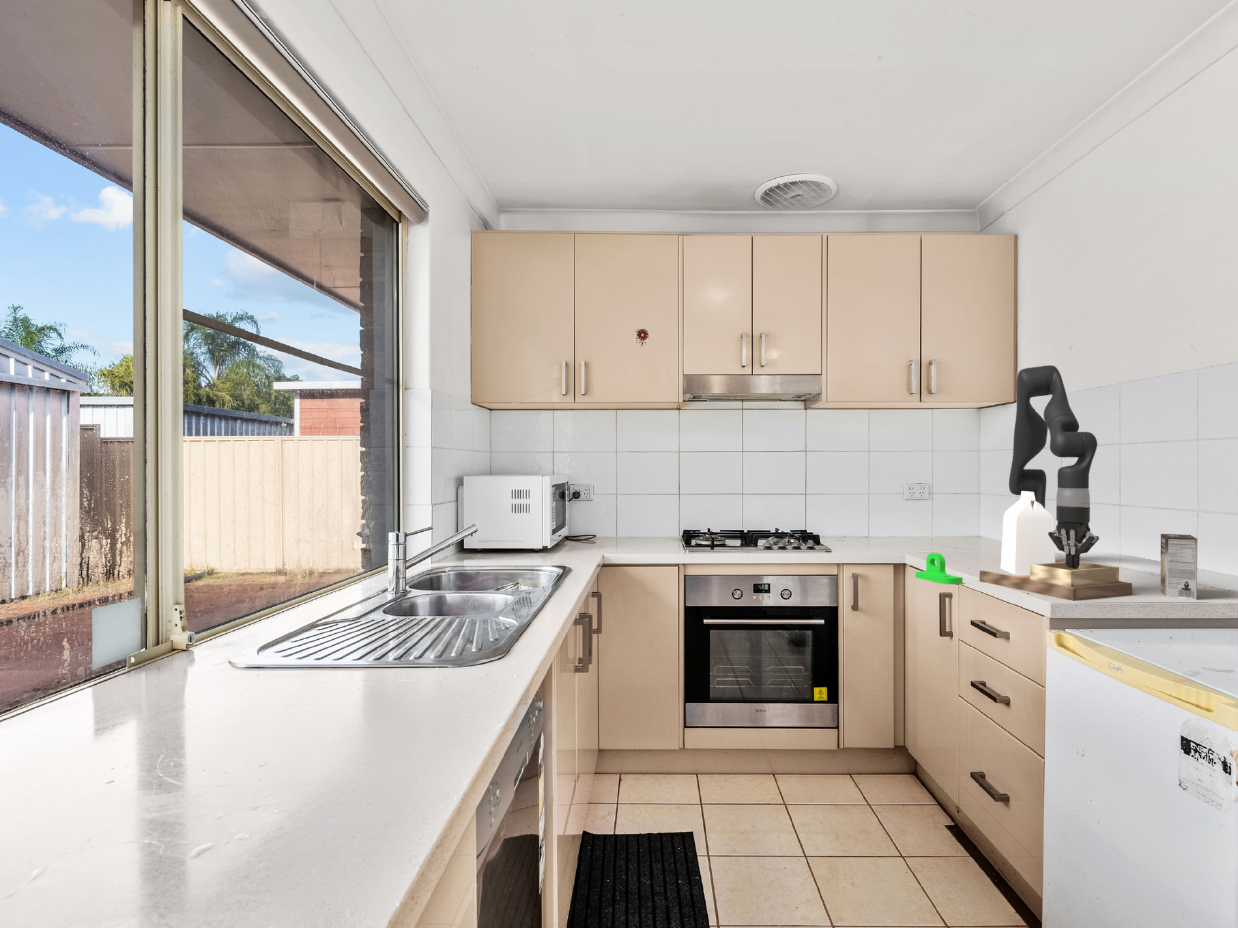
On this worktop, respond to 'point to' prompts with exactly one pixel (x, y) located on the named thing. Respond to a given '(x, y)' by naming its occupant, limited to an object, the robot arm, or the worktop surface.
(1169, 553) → the coffee box
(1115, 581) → the crate
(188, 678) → the worktop surface
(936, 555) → the mechanical part
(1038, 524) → the milk
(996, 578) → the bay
